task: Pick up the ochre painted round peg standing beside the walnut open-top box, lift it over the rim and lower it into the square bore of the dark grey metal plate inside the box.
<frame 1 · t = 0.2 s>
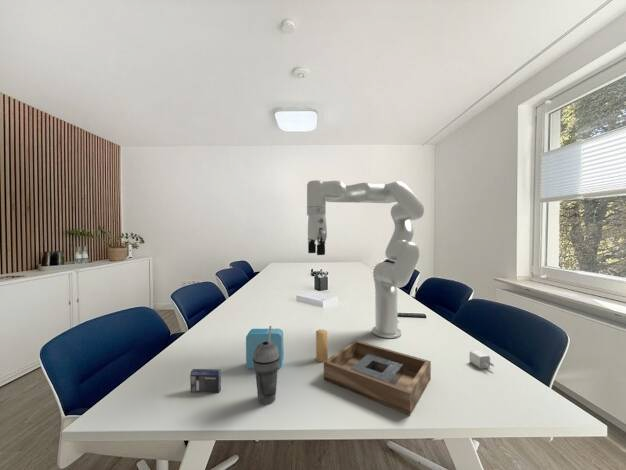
hand: (316, 254, 106), 37 cm above the table, tool pointing down, fingers open, 9 cm apart
usb wall charger: (482, 367, 87), on the table
beverage cup: (266, 400, 71), on the table
peg: (321, 359, 93), on the table
data package: (265, 366, 89), on the table
mini dv tape: (205, 391, 75), on the table
open box: (377, 379, 80), on the table
bore plate: (377, 371, 80), in the open box, point 2 cm above the table
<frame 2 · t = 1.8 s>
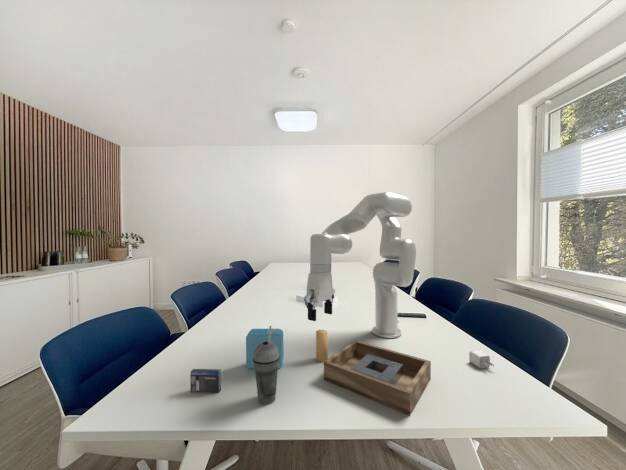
hand: (320, 316, 92), 15 cm above the table, tool pointing down, fingers open, 9 cm apart
nothing on the table moved.
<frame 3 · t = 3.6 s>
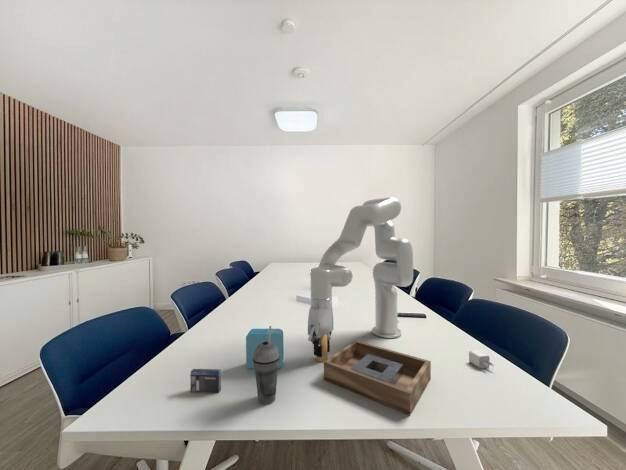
hand: (321, 353, 93), 2 cm above the table, tool pointing down, fingers closed on peg, 4 cm apart
peg: (321, 359, 93), on the table, touching gripper
everything else where it was.
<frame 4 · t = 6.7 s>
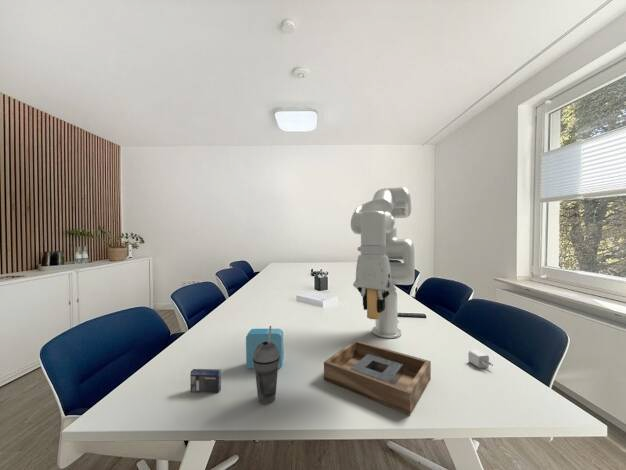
hand: (373, 309, 80), 21 cm above the table, tool pointing down, fingers closed on peg, 4 cm apart
peg: (373, 317, 80), point 19 cm above the table, touching gripper
everything else where it was.
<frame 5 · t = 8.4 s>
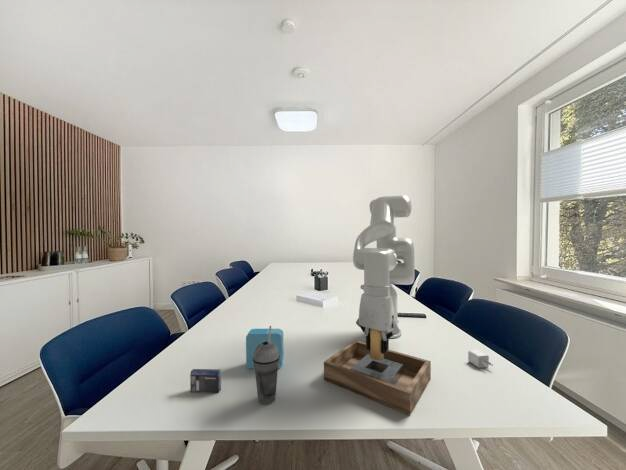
hand: (377, 349, 80), 9 cm above the table, tool pointing down, fingers closed on peg, 4 cm apart
peg: (377, 357, 80), point 7 cm above the table, touching gripper
everything else where it was.
when the fingers open (5 cm above the table, at t = 9.7 s): peg drops 1 cm, resting on open box.
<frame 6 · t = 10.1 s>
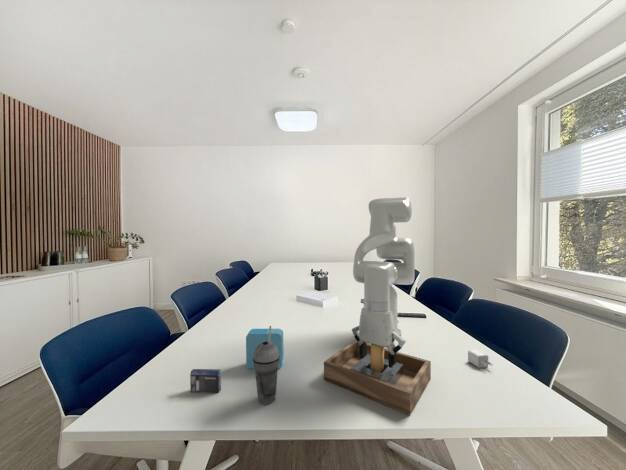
hand: (377, 361, 80), 6 cm above the table, tool pointing down, fingers open, 8 cm apart
peg: (376, 375, 80), point 1 cm above the table, touching open box
everything else where it was.
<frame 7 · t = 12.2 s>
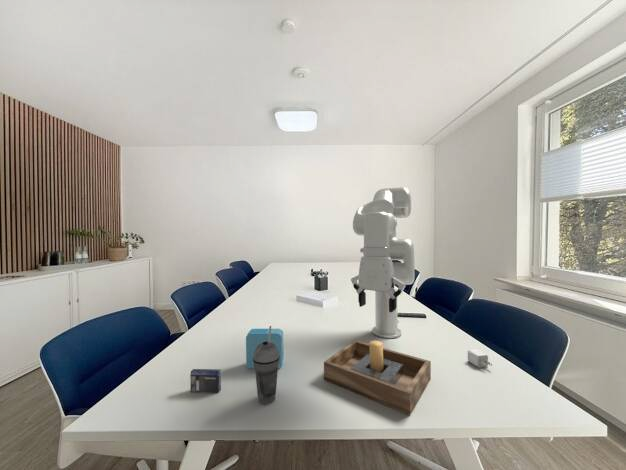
hand: (376, 308, 80), 22 cm above the table, tool pointing down, fingers open, 9 cm apart
nothing on the table moved.
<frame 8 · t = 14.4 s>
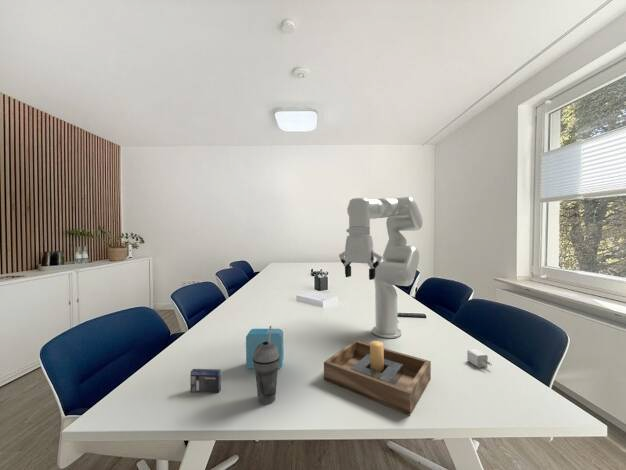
hand: (359, 278, 97), 28 cm above the table, tool pointing down, fingers open, 9 cm apart
nothing on the table moved.
at the end: peg 0.1 cm off-centre on the bore plate, point 1.1 cm above the bore plate's base; peg tilted 2°; the gripper is holding nothing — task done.
